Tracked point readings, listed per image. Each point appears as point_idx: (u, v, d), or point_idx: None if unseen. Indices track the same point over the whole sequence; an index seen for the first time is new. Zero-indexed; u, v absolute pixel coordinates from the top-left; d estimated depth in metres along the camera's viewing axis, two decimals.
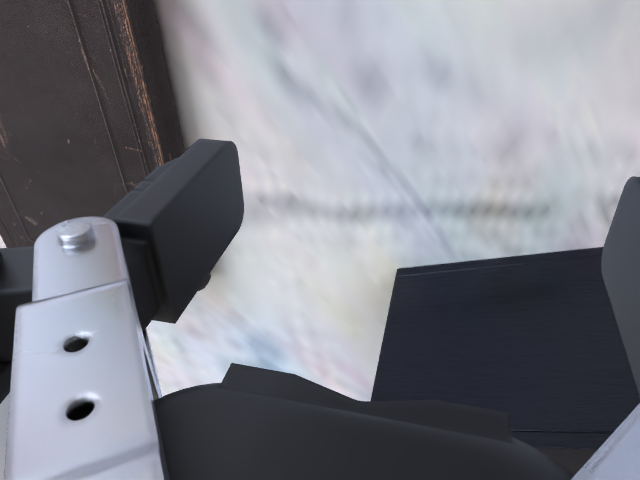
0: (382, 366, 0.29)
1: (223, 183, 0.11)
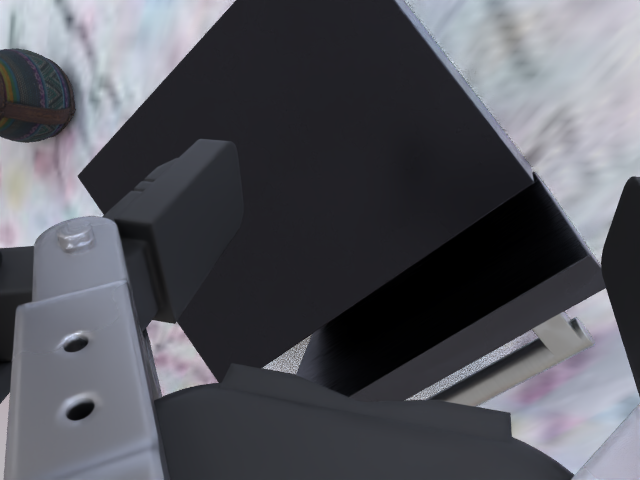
0: None
1: (223, 183, 0.11)
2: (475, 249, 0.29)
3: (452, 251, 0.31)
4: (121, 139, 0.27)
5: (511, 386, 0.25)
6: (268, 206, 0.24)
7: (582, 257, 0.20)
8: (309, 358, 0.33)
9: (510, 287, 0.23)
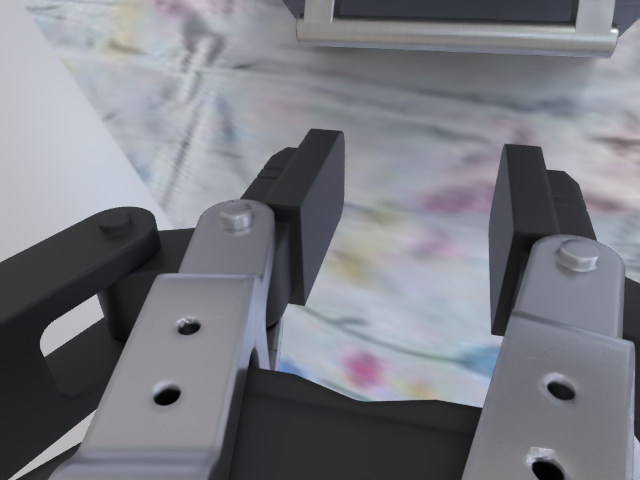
0: None
1: (335, 171, 0.11)
2: None
3: None
4: None
5: (510, 41, 0.23)
6: None
7: None
8: None
9: None
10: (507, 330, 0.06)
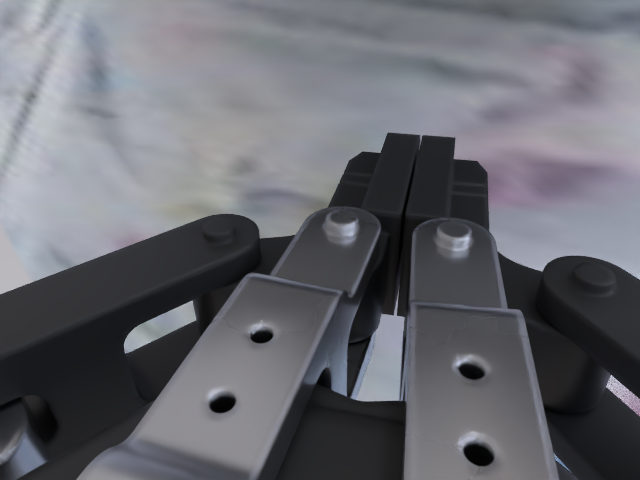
0: None
1: None
2: None
3: None
4: None
5: None
6: None
7: None
8: None
9: None
10: (411, 322, 0.06)
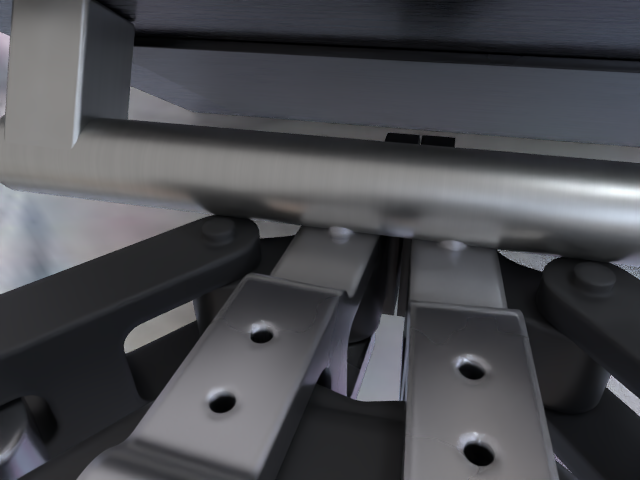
0: None
1: None
2: None
3: None
4: None
5: (608, 238, 0.07)
6: None
7: None
8: None
9: None
10: (411, 322, 0.06)
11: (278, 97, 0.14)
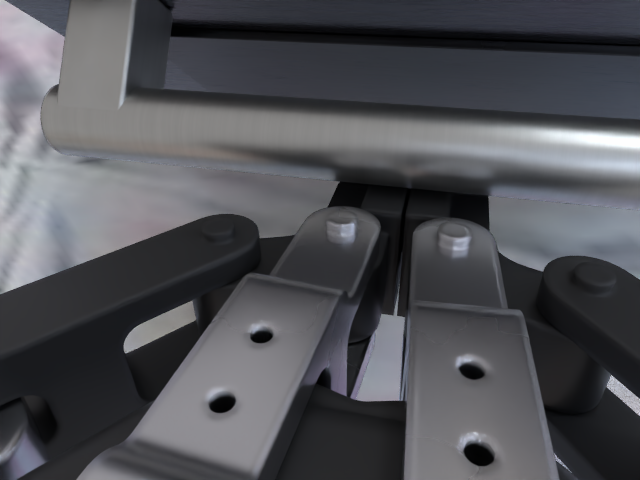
0: None
1: None
2: None
3: None
4: None
5: (587, 177, 0.08)
6: None
7: None
8: None
9: None
10: (411, 322, 0.06)
11: None
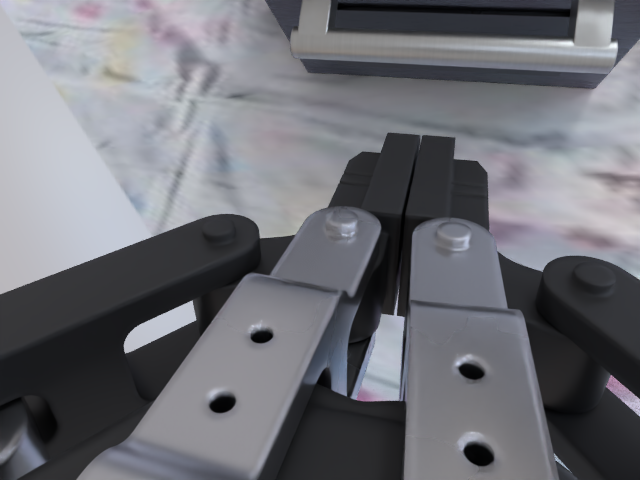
0: None
1: None
2: None
3: None
4: None
5: (508, 54, 0.22)
6: None
7: None
8: None
9: None
10: (411, 322, 0.06)
11: None
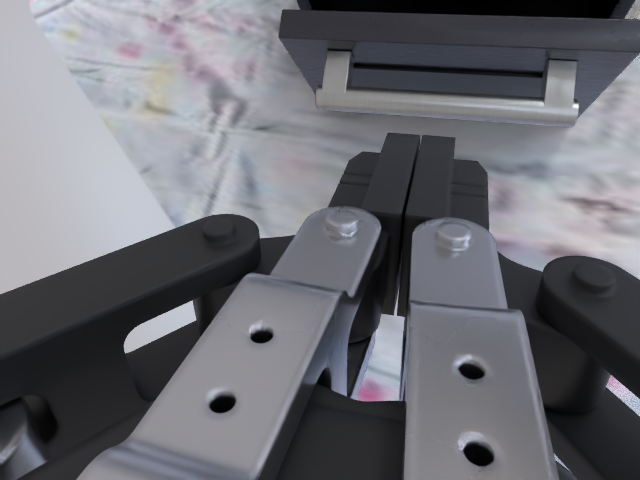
0: None
1: None
2: None
3: None
4: None
5: (492, 111, 0.28)
6: None
7: None
8: None
9: None
10: (411, 322, 0.06)
11: None
